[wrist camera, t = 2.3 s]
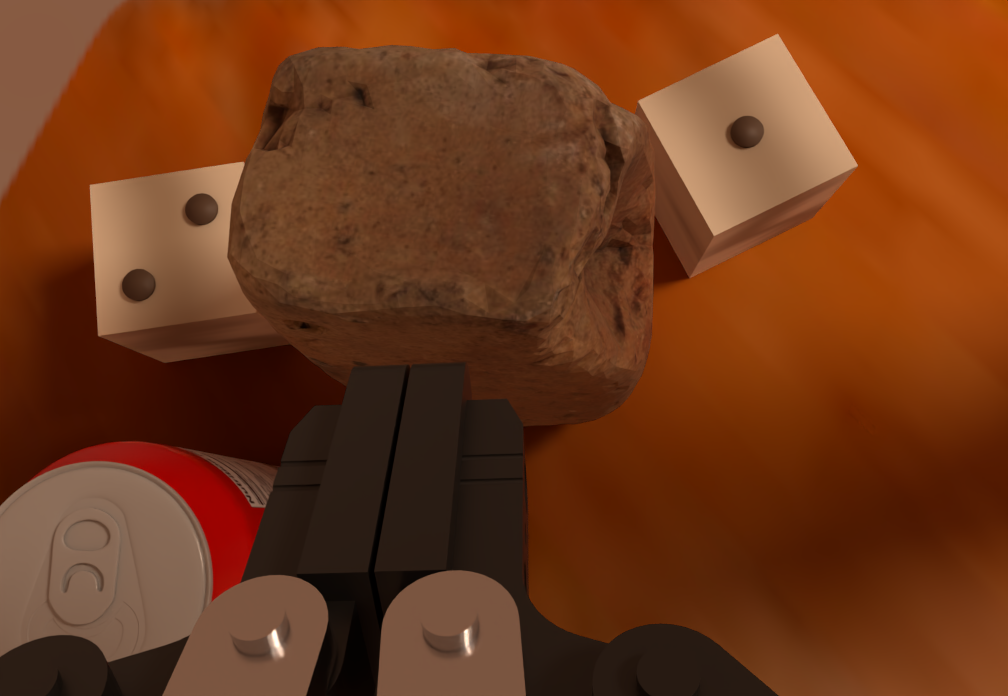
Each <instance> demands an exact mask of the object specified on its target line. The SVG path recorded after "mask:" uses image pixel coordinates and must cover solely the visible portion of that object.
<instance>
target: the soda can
mask: <svg viewBox="0 0 1008 696" xmlns="http://www.w3.org/2000/svg"><path fill="white" fill-rule="evenodd" d="M278 468H279V466H275V465H269V464H264V463H259V462H254V461H248V460H243V459H238V458H233V457H227V456H222V455H217V454H212V453H206V452H201V451H196V450H191V449H185V448H180V447H175V446H170V445H164V444H159V443H151V442H144V441H117V442H109V443H103V444H99V445H94V446H90V447H87V448H84V449H81V450H78V451H75V452H73V453H71V454H68V455H66V456H64V457H62V458H60V459H58V460H57V461H55V462H53V463H52V464H50V465H48V466H47V467H45V468H44V469H43V470H41V471H40V472H39V473H37V474H36V475H35V476H34V477H32V478H31V479H30V480H29V481H28V482H27V483H26V484H25V485H23V486H22V487H21V488H19V489H18V490H17V491H16V492H14V493H13V494H12V495H11V496H10V497H9V498H8V499H7V500H6V501H5V502H4V503H3V504H2V505H1V506H0V657H1V656H2V655H4V654H5V653H7V652H9V651H10V650H12V649H14V648H16V647H18V646H20V645H22V644H25V643H27V642H30V641H33V640H35V639H39V638H43V637H47V636H55V635H73V636H79V637H83V638H85V639H87V640H90V641H91V642H93V643H94V644H96V645H97V646H98V647H99V648H100V650H101V651H102V652H103V654H104V656H105V658H106V660H107V662H110V661H114V660H117V659H120V658H124V657H127V656H130V655H134V654H137V653H141V652H144V651H147V650H151V649H154V648H157V647H161V646H164V645H167V644H170V643H173V642H175V641H178V640H180V639H182V638H184V637H187V636H189V635H190V634H191V632H192V630H193V627H194V625H195V623H196V622H197V620H198V618H199V616H200V615H201V614H202V612H203V611H204V610H205V608H206V607H207V606H208V605H209V604H210V603H211V602H212V601H213V600H214V599H215V598H217V597H218V596H219V595H221V594H222V593H223V592H225V591H226V590H228V589H230V588H232V587H233V586H235V585H237V584H240V582H241V579H242V576H243V573H244V570H245V567H246V564H247V561H248V558H249V555H250V552H251V549H252V546H253V543H254V540H255V537H256V534H257V531H258V528H259V525H260V522H261V519H262V516H263V513H264V510H265V507H266V504H267V501H268V498H269V495H270V492H273V483H274V480H275V477H276V474H277V471H278Z"/></svg>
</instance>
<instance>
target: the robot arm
mask: <svg viewBox="0 0 1008 696" xmlns="http://www.w3.org/2000/svg"><path fill="white" fill-rule="evenodd" d="M0 696H778V695H777V694H776V693H775V692H774V691H772V690H771V689H770V688H769V687H768V686H766V685H765V684H764V683H763V682H762V681H761V680H759V679H758V678H757V677H756V676H755V675H754V674H752V673H751V672H750V671H749V670H748V669H746V668H745V667H744V666H743V665H742V664H741V663H739V662H738V661H737V660H736V659H735V658H734V657H732V656H731V655H730V654H729V653H728V652H727V651H725V650H724V649H723V648H722V647H721V646H719V645H718V644H717V643H715V642H714V641H713V640H711V639H710V638H708V637H707V636H705V635H703V634H701V633H699V632H697V631H694V630H692V629H689V628H686V627H682V626H677V625H671V624H649V625H644V626H640V627H636V628H633V629H631V630H628V631H626V632H624V633H622V634H621V635H619V636H617V637H616V638H615V639H613V640H612V641H611V642H610V643H609V644H608V643H604V642H601V641H597V640H593V639H590V638H586V637H582V636H579V635H576V634H573V633H570V632H567V631H565V630H563V629H561V628H559V627H557V626H556V625H554V624H553V623H551V622H550V621H548V620H547V619H546V618H545V617H544V616H543V615H541V614H540V613H539V612H538V611H537V609H536V608H535V607H534V605H533V604H532V603H531V601H530V599H529V595H528V497H527V481H526V464H525V448H524V432H523V423H522V421H521V420H520V418H519V417H518V415H517V414H516V412H515V410H514V409H513V407H512V406H511V404H510V403H509V401H508V399H485V400H472V392H471V382H470V373H469V367H468V363H467V362H454V363H427V364H412V366H411V367H410V365H409V364H406V365H380V366H354V367H353V368H352V370H351V373H350V377H349V381H348V384H347V388H346V392H345V395H344V399H343V403H342V405H321V406H314V407H313V408H312V409H311V410H310V411H309V412H308V413H307V414H306V416H305V417H304V418H303V419H302V420H301V421H300V422H299V423H298V424H297V425H296V426H295V427H294V429H293V430H292V431H291V432H290V435H289V438H288V441H287V444H286V447H285V450H284V453H283V456H282V459H281V467H279V468H278V471H277V474H276V477H275V480H274V483H273V492H270V495H269V498H268V501H267V504H266V507H265V510H264V513H263V516H262V519H261V522H260V525H259V528H258V531H257V534H256V537H255V540H254V543H253V546H252V549H251V552H250V555H249V558H248V561H247V564H246V567H245V570H244V573H243V576H242V579H241V582H240V584H237V585H235V586H233V587H232V588H230V589H228V590H226V591H225V592H223V593H222V594H221V595H219V596H218V597H217V598H215V599H214V600H213V601H212V602H211V603H210V604H209V605H208V606H207V607H206V608H205V610H204V611H203V612H202V614H201V615H200V616H199V618H198V620H197V622H196V623H195V625H194V627H193V630H192V632H191V634H190V635H189V636H187V637H184V638H182V639H180V640H178V641H175V642H173V643H170V644H167V645H164V646H161V647H157V648H154V649H151V650H147V651H144V652H141V653H137V654H134V655H130V656H127V657H124V658H120V659H117V660H114V661H110V662H107V660H106V658H105V656H104V654H103V652H102V651H101V650H100V648H99V647H98V646H97V645H96V644H94V643H93V642H91V641H90V640H87V639H85V638H83V637H79V636H73V635H55V636H47V637H43V638H39V639H35V640H33V641H30V642H27V643H25V644H22V645H20V646H18V647H16V648H14V649H12V650H10V651H9V652H7V653H5V654H4V655H2V656H1V657H0Z"/></svg>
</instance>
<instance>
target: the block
mask: <svg viewBox="0 0 1008 696" xmlns="http://www.w3.org/2000/svg"><path fill="white" fill-rule="evenodd" d="M655 196H656V188H655V179H654V149H653V147H652V145H651V142H650V138H649V128H648V126H647V125H646V124H645V123H644V122H643V121H642V120H641V119H640V117H638V116H636V115H635V114H633V113H631V112H629V111H627V110H625V109H623V108H621V107H619V106H617V105H615V104H613V103H610V101H609V100H608V99H607V97H606V96H605V94H604V93H603V91H602V90H601V89H600V87H599V86H598V85H596V84H595V83H593V82H592V81H591V80H589V79H588V78H586V77H585V76H584V75H582V74H581V73H579V72H578V71H576V70H575V69H573V68H571V67H568V66H566V65H563V64H560V63H556V62H552V61H548V60H544V59H539V58H535V57H531V56H519V55H503V54H478V53H465V52H463V51H460V50H458V49H455V48H449V49H426V48H419V47H412V46H396V45H389V46H381V47H373V48H364V49H354V48H348V47H319V48H315V49H311V50H308V51H305V52H302V53H298V54H295V55H292V56H289V57H288V58H286V59H285V60H284V61H283V62H282V63H281V64H280V65H279V66H278V69H277V71H276V73H275V75H274V77H273V80H272V85H271V89H270V94H269V98H268V101H267V104H266V107H265V110H264V113H263V118H262V124H261V130H260V132H259V135H258V137H257V139H256V141H255V144H254V146H253V148H252V150H251V152H250V154H249V156H248V157H247V159H246V162H245V165H244V168H243V171H242V174H241V177H240V180H239V183H238V186H237V189H236V192H235V195H234V198H233V201H232V204H231V216H230V229H229V241H228V253H227V258H228V260H229V263H230V265H231V267H232V269H233V272H234V274H235V276H236V279H237V281H238V283H239V285H240V288H241V290H242V292H243V294H244V295H245V297H246V298H247V299H248V301H249V302H250V303H251V305H252V306H253V307H254V308H255V309H256V310H257V311H258V312H259V313H260V314H261V315H262V316H264V317H265V318H266V320H267V321H268V322H269V324H270V325H271V326H272V327H273V328H274V330H275V331H276V332H277V333H278V334H280V335H281V336H283V337H284V338H286V339H287V340H288V341H289V342H290V344H291V345H292V346H293V347H295V348H296V349H297V350H298V351H300V352H301V353H302V354H303V355H304V356H306V357H307V358H308V359H309V360H310V361H311V362H312V363H314V364H315V365H317V366H318V367H320V368H321V369H322V370H323V371H324V372H325V373H326V374H328V375H329V376H330V377H332V378H333V379H335V380H337V381H339V382H340V383H342V384H343V385H345V386H346V387H347V384H348V381H349V377H350V373H351V370H352V368H353V367H354V366H380V365H406V364H409V365H410V367H411V366H412V364H427V363H454V362H467V363H468V367H469V373H470V382H471V392H472V400H485V399H508V401H509V403H510V404H511V406H512V407H513V409H514V410H515V412H516V414H517V415H518V417H519V418H520V420H521V421H522V423H523V427H524V426H541V425H558V424H578V423H583V422H587V421H592V420H596V419H598V418H600V417H602V416H605V415H606V414H608V413H610V412H612V411H614V410H615V409H617V408H618V407H620V406H621V405H622V404H623V402H624V401H625V400H626V399H627V398H628V397H629V396H630V394H631V393H632V391H633V389H634V387H635V385H636V384H637V382H638V381H639V379H640V377H641V376H642V373H643V370H644V367H645V364H646V360H647V357H648V353H649V348H650V341H651V336H652V315H653V262H654V255H653V238H654V216H655Z"/></svg>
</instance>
